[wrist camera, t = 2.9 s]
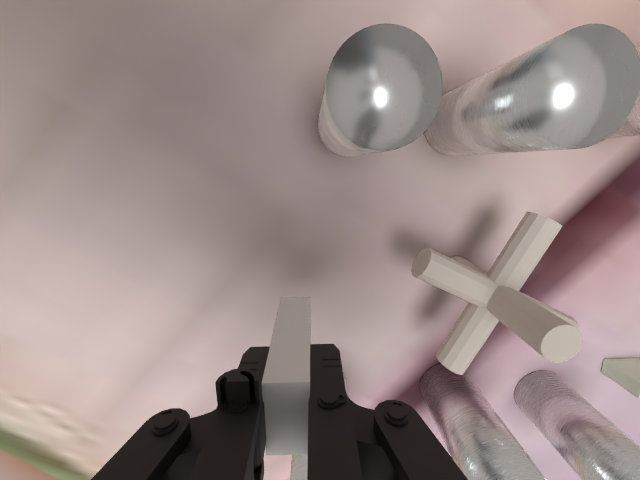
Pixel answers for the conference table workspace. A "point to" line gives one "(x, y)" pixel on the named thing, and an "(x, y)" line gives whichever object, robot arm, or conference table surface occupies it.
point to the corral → (624, 373)
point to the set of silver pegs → (483, 138)
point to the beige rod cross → (501, 298)
